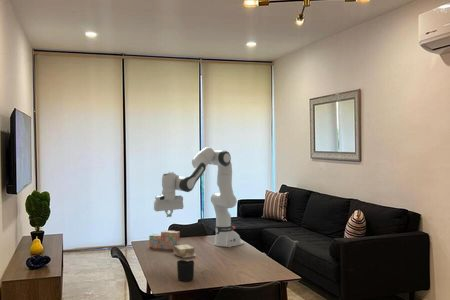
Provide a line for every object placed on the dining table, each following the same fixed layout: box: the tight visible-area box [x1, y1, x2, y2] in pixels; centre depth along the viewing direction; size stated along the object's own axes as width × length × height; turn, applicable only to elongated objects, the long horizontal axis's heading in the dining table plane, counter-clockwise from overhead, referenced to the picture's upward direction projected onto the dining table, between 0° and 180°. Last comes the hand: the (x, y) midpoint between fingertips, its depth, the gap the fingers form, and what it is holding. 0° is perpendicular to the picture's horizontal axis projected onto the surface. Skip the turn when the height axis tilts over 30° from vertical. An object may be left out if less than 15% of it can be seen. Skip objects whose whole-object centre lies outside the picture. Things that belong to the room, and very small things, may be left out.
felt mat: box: [181, 253, 197, 258], centre depth 296 cm, size 10×12×1 cm
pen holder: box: [176, 259, 195, 283], centre depth 241 cm, size 9×9×10 cm
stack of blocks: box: [148, 229, 181, 250], centre depth 316 cm, size 21×6×12 cm, turn 77°
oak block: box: [173, 244, 195, 258], centre depth 295 cm, size 5×12×10 cm
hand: (169, 216), depth 291 cm, fingers closed
